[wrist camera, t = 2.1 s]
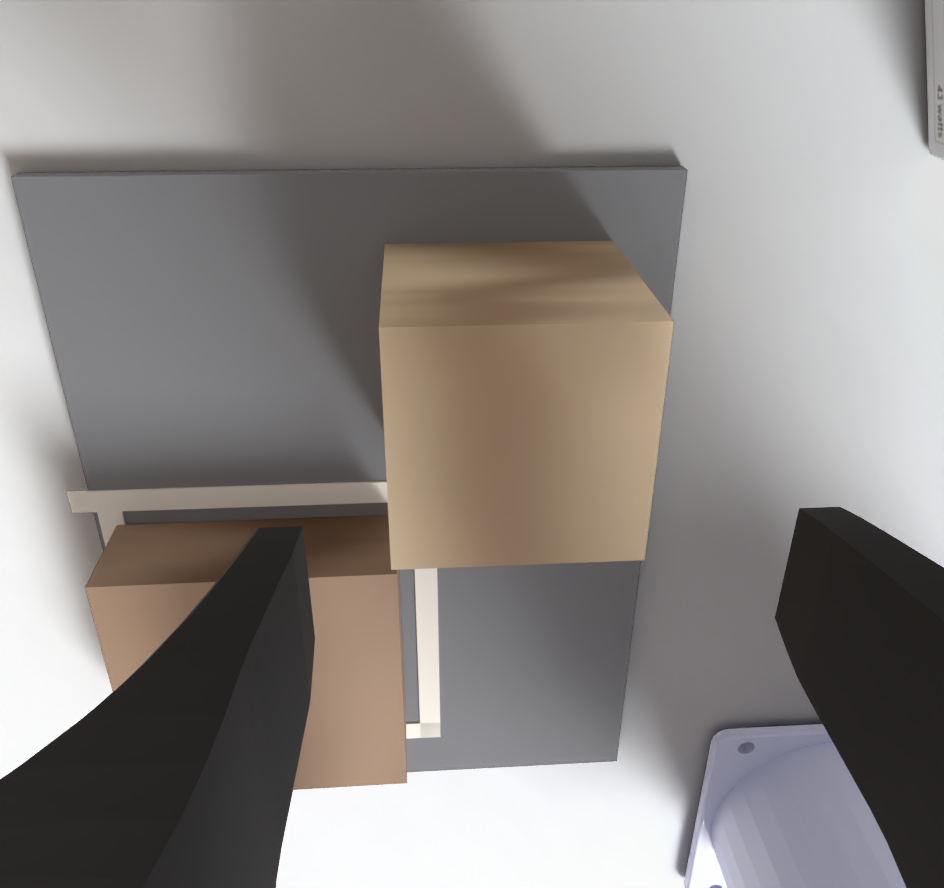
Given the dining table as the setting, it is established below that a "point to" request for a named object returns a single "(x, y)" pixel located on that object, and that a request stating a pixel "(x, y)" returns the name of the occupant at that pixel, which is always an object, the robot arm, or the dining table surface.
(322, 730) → the walnut slab
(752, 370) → the dining table surface
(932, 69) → the light bulb box
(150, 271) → the mat
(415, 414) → the oak cube
